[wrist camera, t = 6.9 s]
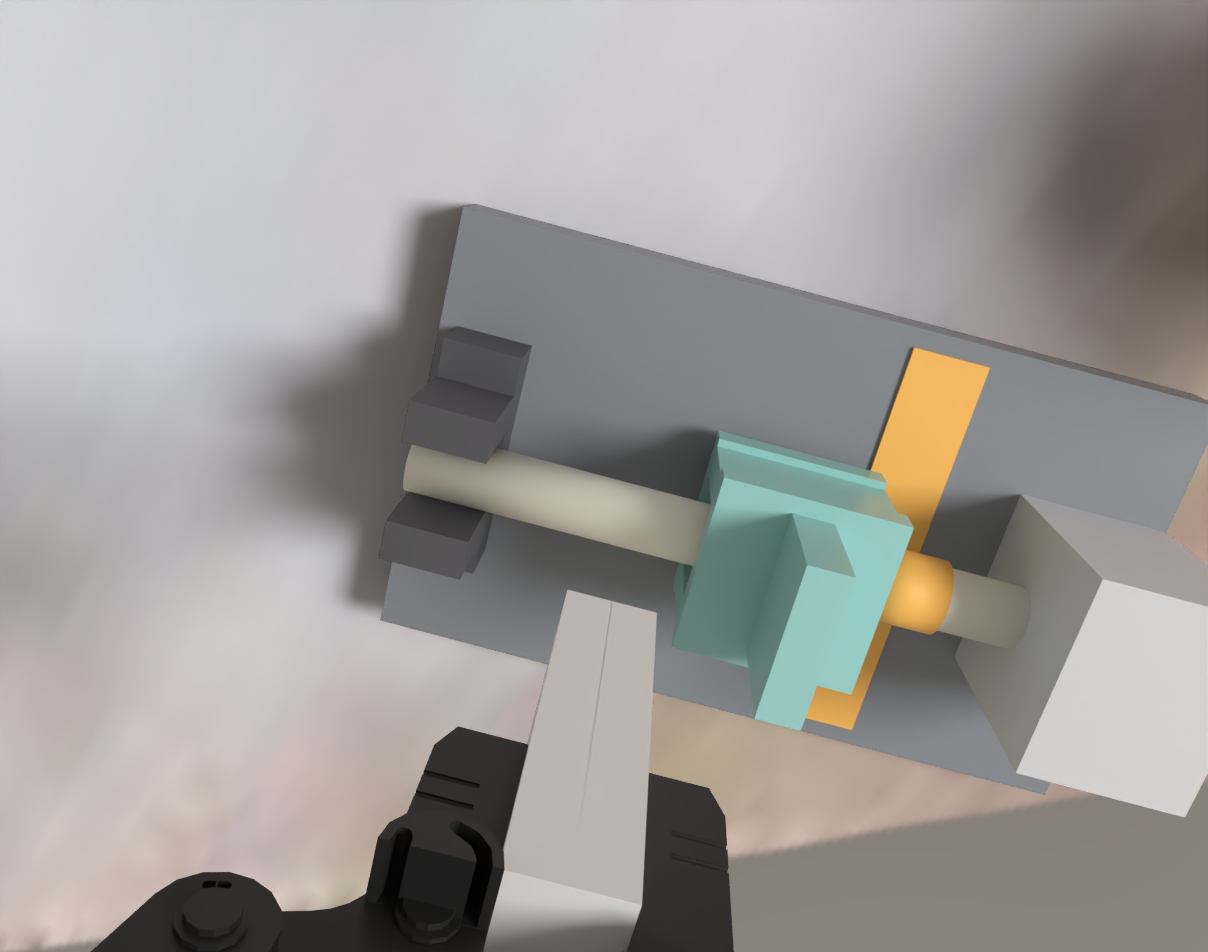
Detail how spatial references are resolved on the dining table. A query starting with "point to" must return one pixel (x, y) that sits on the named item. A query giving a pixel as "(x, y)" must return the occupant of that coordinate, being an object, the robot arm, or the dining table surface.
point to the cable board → (832, 431)
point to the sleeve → (788, 572)
